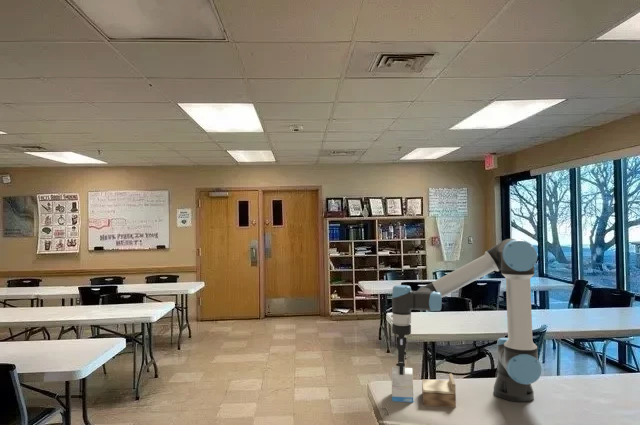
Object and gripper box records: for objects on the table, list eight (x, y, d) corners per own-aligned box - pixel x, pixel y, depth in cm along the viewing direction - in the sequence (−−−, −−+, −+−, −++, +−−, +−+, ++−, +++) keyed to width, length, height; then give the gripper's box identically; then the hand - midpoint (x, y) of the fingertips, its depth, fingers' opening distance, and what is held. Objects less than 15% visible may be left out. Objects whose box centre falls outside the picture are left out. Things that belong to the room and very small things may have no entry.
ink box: (413, 404, 167) (412, 370, 167) (391, 403, 168) (391, 368, 169) (413, 396, 175) (412, 363, 176) (392, 394, 177) (392, 362, 177)
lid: (452, 383, 174) (452, 373, 174) (455, 394, 162) (455, 384, 162) (422, 381, 176) (422, 371, 176) (423, 392, 164) (423, 382, 165)
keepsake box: (452, 397, 174) (452, 383, 174) (455, 409, 162) (455, 395, 162) (422, 395, 176) (422, 381, 176) (423, 407, 164) (423, 392, 164)
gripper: (393, 316, 186) (392, 365, 185) (391, 330, 161) (391, 386, 161) (410, 317, 184) (410, 367, 184) (411, 331, 160) (411, 388, 159)
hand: (401, 376), depth 172 cm, fingers open, 13 cm apart
